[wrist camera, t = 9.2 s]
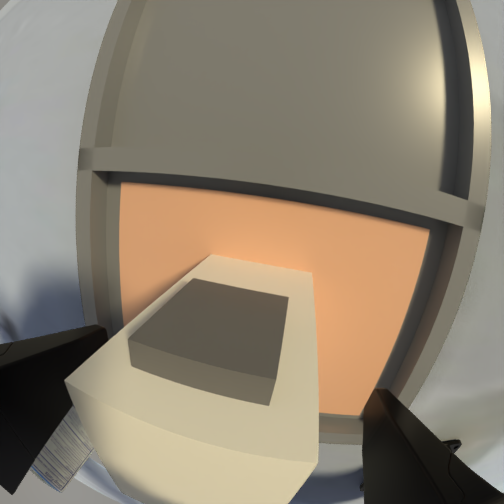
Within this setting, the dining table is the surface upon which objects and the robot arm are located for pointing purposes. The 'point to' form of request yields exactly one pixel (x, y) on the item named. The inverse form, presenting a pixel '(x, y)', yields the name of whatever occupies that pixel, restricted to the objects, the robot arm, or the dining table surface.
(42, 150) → the dining table surface
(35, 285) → the dining table surface
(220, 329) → the plug
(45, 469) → the medicine box
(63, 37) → the dining table surface
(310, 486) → the dining table surface
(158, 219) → the dock
